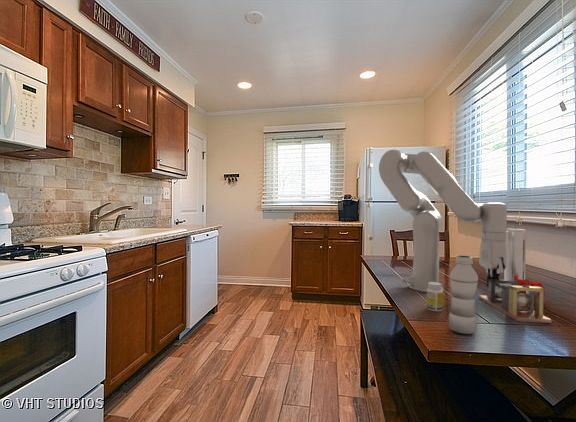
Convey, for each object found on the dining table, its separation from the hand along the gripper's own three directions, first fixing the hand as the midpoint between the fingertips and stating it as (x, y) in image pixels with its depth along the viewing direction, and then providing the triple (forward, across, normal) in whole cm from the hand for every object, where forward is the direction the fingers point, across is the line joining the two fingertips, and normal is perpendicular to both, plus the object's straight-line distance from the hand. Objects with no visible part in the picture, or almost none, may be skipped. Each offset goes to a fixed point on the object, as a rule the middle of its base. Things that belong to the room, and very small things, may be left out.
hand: (492, 287), depth 110 cm
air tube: (+2, +10, 0) cm, 10 cm away
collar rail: (+4, +11, 0) cm, 12 cm away
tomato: (+4, +2, +11) cm, 12 cm away
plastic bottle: (+4, +34, -24) cm, 42 cm away
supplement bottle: (+4, +16, -25) cm, 30 cm away
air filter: (+4, -10, +13) cm, 17 cm away
